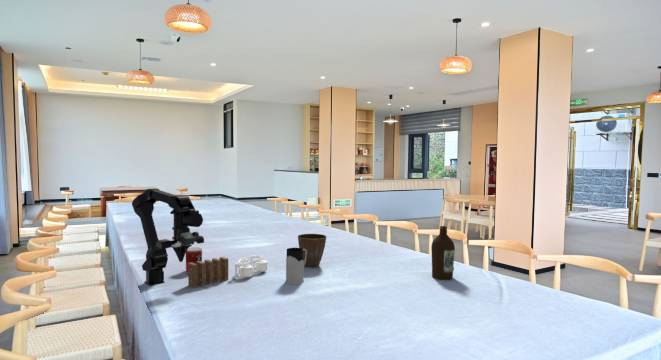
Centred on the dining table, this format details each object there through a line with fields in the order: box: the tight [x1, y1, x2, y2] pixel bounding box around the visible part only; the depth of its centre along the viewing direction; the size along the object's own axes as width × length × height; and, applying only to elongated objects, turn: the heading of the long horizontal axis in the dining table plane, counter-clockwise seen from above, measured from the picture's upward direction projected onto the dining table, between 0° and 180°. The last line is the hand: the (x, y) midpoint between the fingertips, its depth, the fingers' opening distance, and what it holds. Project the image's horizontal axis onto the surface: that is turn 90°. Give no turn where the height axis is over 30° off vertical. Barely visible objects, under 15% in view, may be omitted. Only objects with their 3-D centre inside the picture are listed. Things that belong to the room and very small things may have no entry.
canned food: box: [185, 246, 203, 273], centre depth 201 cm, size 8×8×11 cm
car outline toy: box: [234, 254, 268, 280], centre depth 195 cm, size 20×11×7 cm, turn 150°
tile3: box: [203, 259, 214, 285], centre depth 181 cm, size 2×5×10 cm, turn 46°
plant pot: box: [297, 233, 327, 269], centre depth 212 cm, size 15×15×16 cm
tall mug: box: [284, 247, 307, 285], centre depth 186 cm, size 9×14×15 cm, turn 152°
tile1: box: [187, 262, 198, 289], centre depth 176 cm, size 2×5×10 cm, turn 46°
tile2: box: [196, 260, 207, 287], centre depth 179 cm, size 2×5×10 cm, turn 46°
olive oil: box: [430, 225, 456, 281], centre depth 191 cm, size 11×11×25 cm
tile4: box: [211, 257, 222, 283], centre depth 184 cm, size 2×5×10 cm, turn 46°
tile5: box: [218, 256, 229, 281], centre depth 187 cm, size 2×5×10 cm, turn 46°
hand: (180, 261), depth 172 cm, fingers closed
